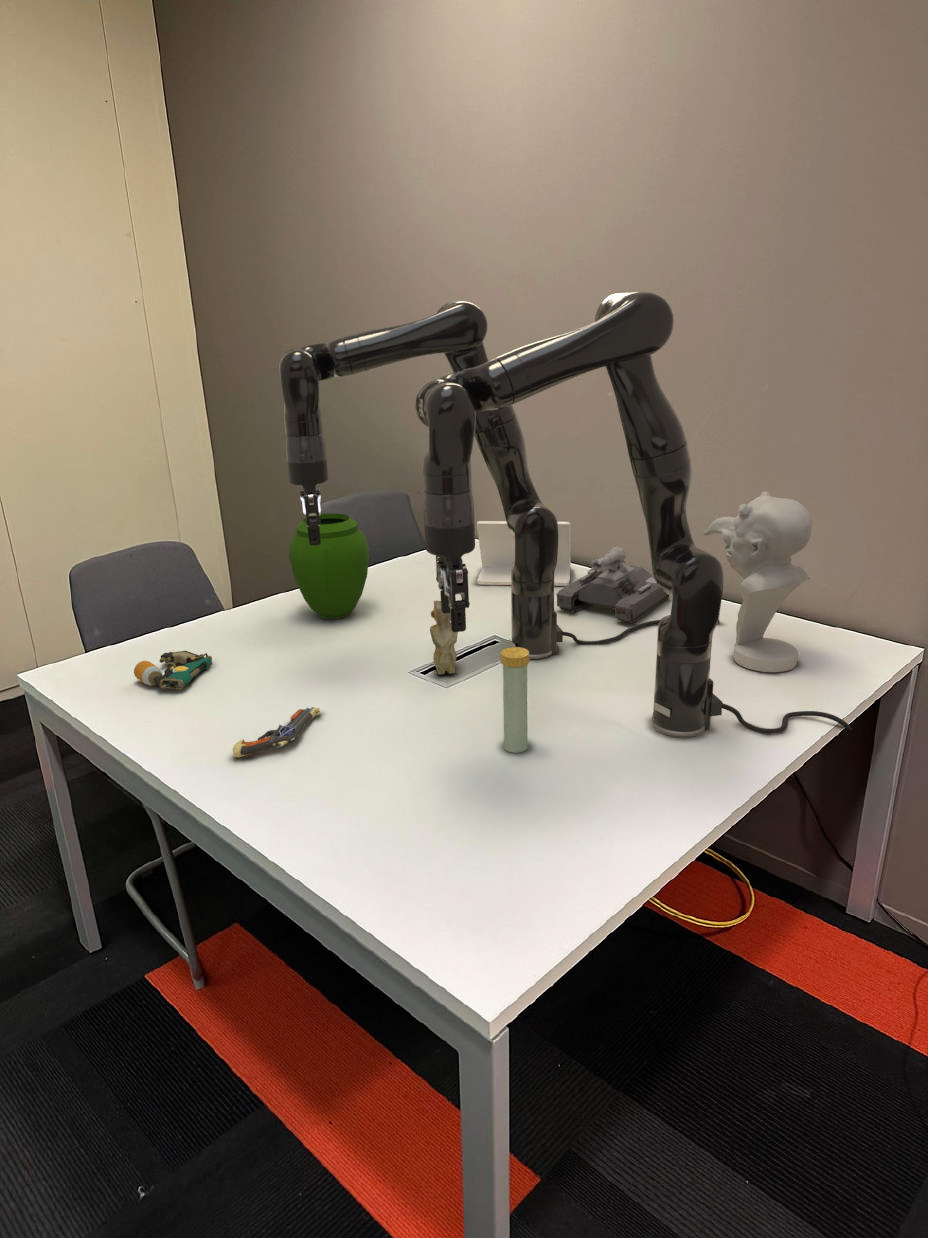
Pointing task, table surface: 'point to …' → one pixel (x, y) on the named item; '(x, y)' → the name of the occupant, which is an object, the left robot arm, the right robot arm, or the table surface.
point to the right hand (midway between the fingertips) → (453, 621)
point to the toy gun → (277, 734)
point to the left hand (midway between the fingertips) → (314, 539)
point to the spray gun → (172, 669)
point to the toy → (614, 588)
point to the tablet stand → (501, 553)
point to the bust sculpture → (764, 574)
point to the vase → (330, 565)
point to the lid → (515, 657)
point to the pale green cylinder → (515, 708)
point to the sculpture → (443, 641)
